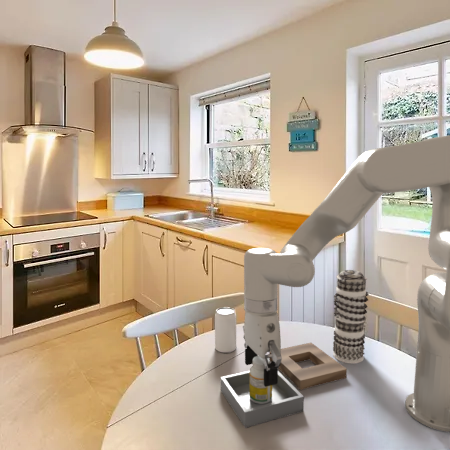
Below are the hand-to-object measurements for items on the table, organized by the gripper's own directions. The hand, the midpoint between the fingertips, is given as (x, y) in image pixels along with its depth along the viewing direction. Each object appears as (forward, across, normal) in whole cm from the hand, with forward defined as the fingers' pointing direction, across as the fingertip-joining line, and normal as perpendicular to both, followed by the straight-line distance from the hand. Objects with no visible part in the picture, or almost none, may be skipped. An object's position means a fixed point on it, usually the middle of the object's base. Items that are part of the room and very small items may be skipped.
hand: (260, 373), depth 87 cm
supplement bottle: (+6, 0, 0) cm, 6 cm away
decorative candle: (+7, +9, -33) cm, 35 cm away
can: (+7, +27, -2) cm, 28 cm away
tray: (+7, 0, 0) cm, 7 cm away
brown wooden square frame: (+7, +8, -18) cm, 21 cm away
